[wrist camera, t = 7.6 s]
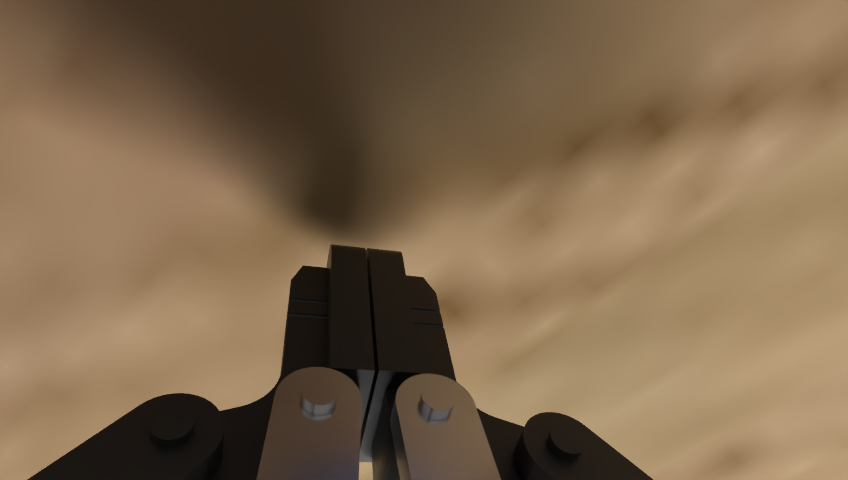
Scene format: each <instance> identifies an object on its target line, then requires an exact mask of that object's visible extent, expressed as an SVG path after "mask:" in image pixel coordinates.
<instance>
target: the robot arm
mask: <svg viewBox="0 0 848 480" xmlns="http://www.w3.org/2000/svg"><path fill="white" fill-rule="evenodd" d="M359 462H372V465H373V480H653V479H652V478H651V477H649V476H648V475H647V474H646V473H644V472H643V471H642V470H640V469H639V468H638V467H637V466H635V465H634V464H633V463H632V462H630V461H629V460H628V459H626V458H625V457H624V456H623V455H621V454H620V453H619V452H618V451H616V450H615V449H614V448H613V447H611V446H610V445H609V444H607V443H606V442H605V441H604V440H602V439H601V438H600V437H599V436H597V435H596V434H595V433H593V432H592V431H591V430H590V429H588V428H587V427H586V426H585V425H583V424H582V423H580V422H579V421H577V420H575V419H573V418H571V417H569V416H566V415H563V414H560V413H554V412H545V413H540V414H537V415H535V416H533V417H532V418H530V419H529V420H528V421H527V423H526V425H525V427H523V426H520V425H517V424H514V423H511V422H508V421H505V420H501V419H498V418H495V417H493V416H490V415H488V414H486V413H484V412H482V411H481V410H479V409H478V408H476V405H475V403H474V401H473V398H472V397H471V395H470V394H469V392H468V391H467V390H466V389H465V388H464V387H463V386H461V385H460V384H459V383H457V382H456V378H455V374H454V369H453V365H452V361H451V356H450V352H449V348H448V343H447V339H446V335H445V330H444V328H443V322H442V318H441V314H440V309H439V305H438V300H437V296H436V293H435V291H434V290H433V289H432V288H431V287H430V285H429V284H428V283H427V282H426V280H425V279H424V278H423V277H416V276H406V274H405V268H404V262H403V256H402V253H401V252H398V251H389V250H379V249H370V248H367V250H365V248H359V247H350V246H341V245H330V249H329V255H328V262H327V268H322V267H312V266H302V268H301V269H300V270H299V271H298V272H297V274H296V275H295V276H294V277H293V278H292V280H291V286H290V294H289V303H288V312H287V320H286V329H285V338H284V347H283V357H282V366H281V375H280V378H279V380H278V382H277V384H276V385H275V387H274V388H273V389H272V390H271V391H270V392H269V393H268V394H267V395H265V396H264V397H262V398H261V399H259V400H257V401H255V402H253V403H250V404H248V405H244V406H241V407H237V408H232V409H228V410H223V411H219V410H218V409H217V407H216V406H215V405H214V404H212V403H211V402H210V401H208V400H206V399H205V398H202V397H199V396H196V395H192V394H184V393H176V394H167V395H162V396H159V397H155V398H153V399H151V400H148V401H146V402H144V403H143V404H141V405H139V406H138V407H136V408H135V409H133V410H132V411H130V412H129V413H127V414H126V415H124V416H123V417H121V418H120V419H118V420H117V421H115V422H114V423H112V424H111V425H109V426H108V427H106V428H105V429H103V430H102V431H100V432H99V433H97V434H95V435H94V436H92V437H91V438H89V439H88V440H86V441H85V442H83V443H82V444H80V445H79V446H77V447H76V448H74V449H73V450H71V451H70V452H68V453H67V454H65V455H64V456H62V457H61V458H59V459H58V460H56V461H55V462H53V463H52V464H50V465H49V466H47V467H46V468H44V469H43V470H41V471H40V472H38V473H37V474H35V475H34V476H32V477H31V478H29V479H28V480H358V477H359Z"/></svg>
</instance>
